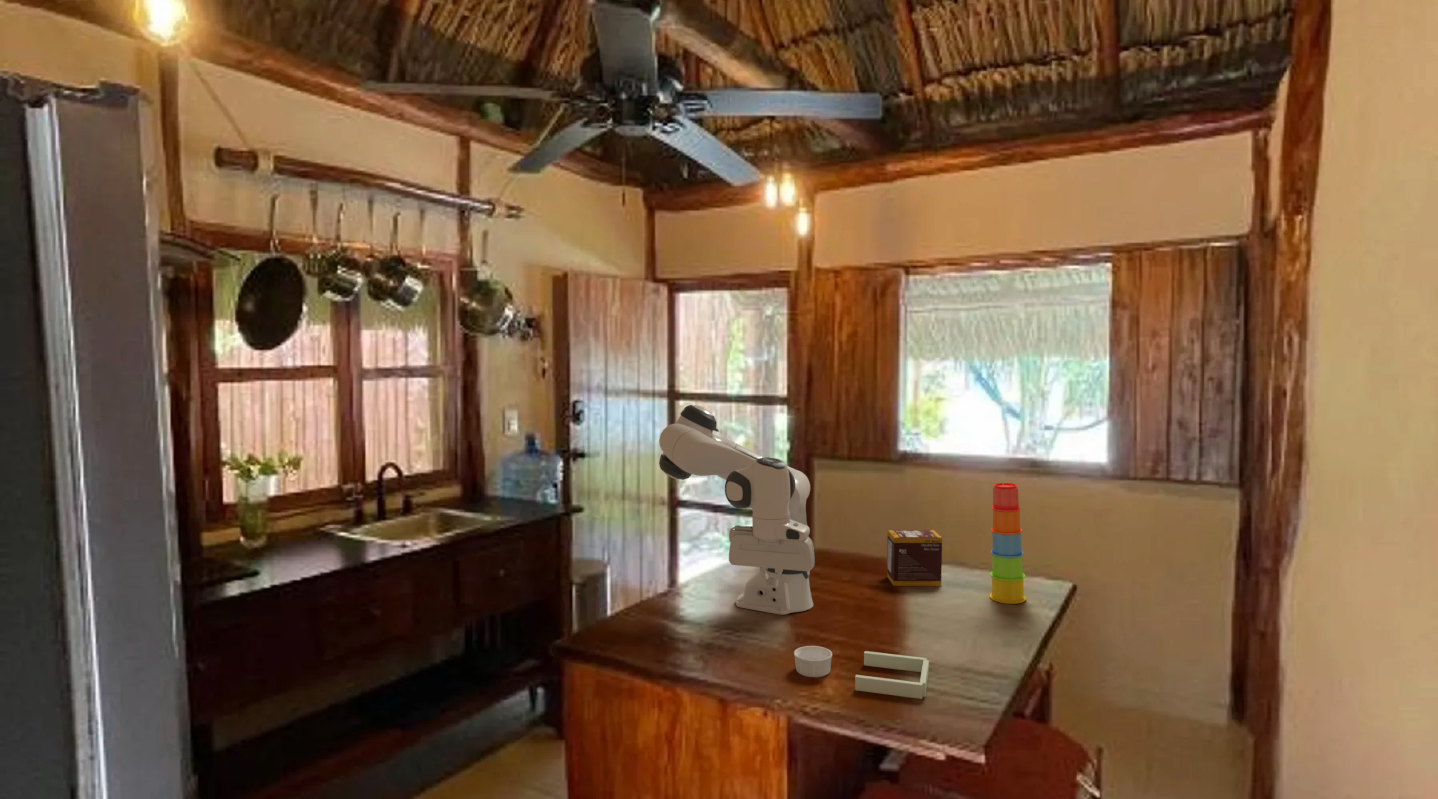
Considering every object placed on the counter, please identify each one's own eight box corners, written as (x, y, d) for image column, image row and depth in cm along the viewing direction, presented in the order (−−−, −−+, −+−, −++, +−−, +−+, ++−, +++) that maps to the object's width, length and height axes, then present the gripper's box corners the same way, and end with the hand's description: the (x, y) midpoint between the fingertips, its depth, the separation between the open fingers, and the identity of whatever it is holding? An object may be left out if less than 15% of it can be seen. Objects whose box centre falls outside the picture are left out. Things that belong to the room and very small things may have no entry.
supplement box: (942, 586, 246) (942, 537, 245) (893, 586, 246) (893, 537, 245) (933, 576, 256) (934, 529, 255) (886, 576, 257) (887, 529, 256)
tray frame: (855, 690, 171) (855, 676, 171) (864, 663, 186) (864, 651, 185) (924, 699, 166) (925, 685, 166) (929, 671, 181) (929, 658, 181)
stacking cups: (1026, 605, 227) (1029, 487, 224) (989, 602, 230) (991, 485, 228) (1025, 595, 236) (1027, 481, 234) (989, 592, 240) (991, 480, 237)
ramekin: (822, 682, 176) (822, 663, 175) (787, 673, 180) (787, 655, 180) (838, 668, 183) (838, 650, 183) (804, 660, 188) (804, 642, 188)
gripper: (724, 527, 183) (725, 585, 184) (810, 533, 177) (810, 594, 178) (732, 522, 189) (733, 578, 190) (816, 527, 183) (816, 585, 184)
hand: (771, 585), depth 184 cm, fingers closed
